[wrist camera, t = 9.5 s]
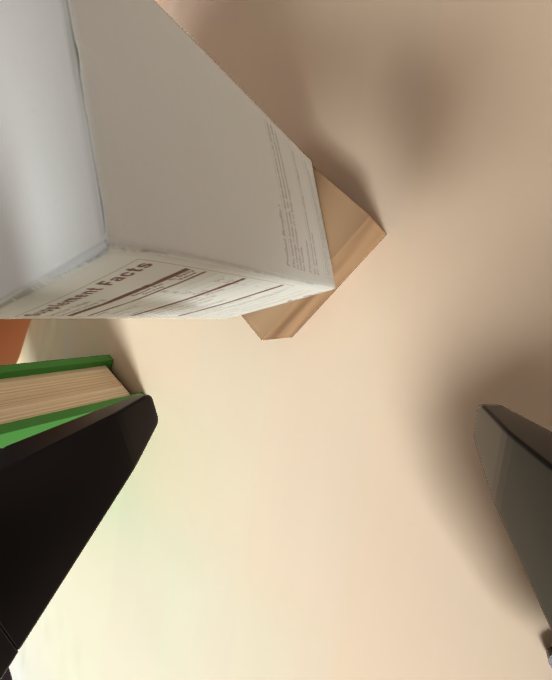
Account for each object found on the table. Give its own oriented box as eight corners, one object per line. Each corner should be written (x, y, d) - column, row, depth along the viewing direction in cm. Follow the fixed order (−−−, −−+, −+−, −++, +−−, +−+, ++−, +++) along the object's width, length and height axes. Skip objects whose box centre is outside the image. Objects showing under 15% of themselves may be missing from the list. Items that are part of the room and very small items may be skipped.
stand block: (386, 234, 19) (369, 215, 16) (292, 337, 23) (261, 340, 19) (292, 153, 22) (261, 121, 18) (222, 255, 25) (184, 245, 22)
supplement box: (211, 210, 21) (-69, 87, 10) (315, 158, 17) (44, -139, 6) (230, 321, 20) (-38, 323, 9) (339, 294, 16) (102, 244, 6)
